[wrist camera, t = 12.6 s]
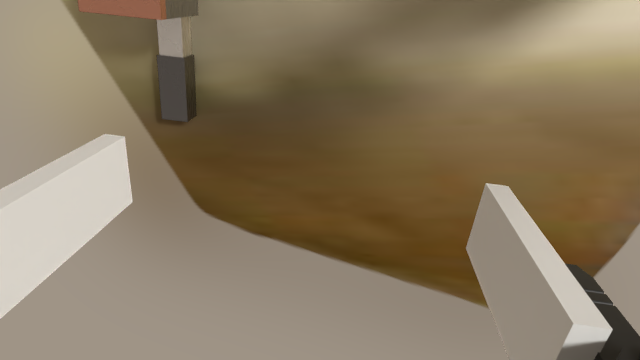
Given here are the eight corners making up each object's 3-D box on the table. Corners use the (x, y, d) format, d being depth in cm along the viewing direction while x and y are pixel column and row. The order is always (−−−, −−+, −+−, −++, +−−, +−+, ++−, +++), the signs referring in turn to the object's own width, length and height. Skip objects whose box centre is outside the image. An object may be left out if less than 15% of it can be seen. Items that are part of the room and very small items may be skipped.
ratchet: (208, 117, 48) (180, 139, 40) (159, 111, 48) (123, 132, 41) (203, -58, 40) (167, -70, 33) (145, -64, 40) (97, -76, 33)
